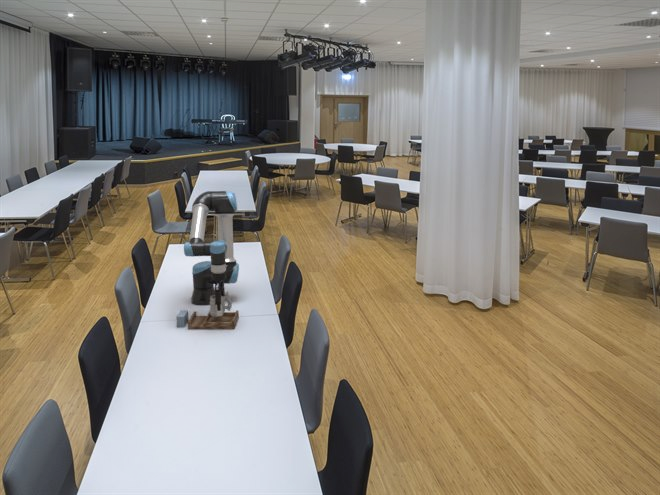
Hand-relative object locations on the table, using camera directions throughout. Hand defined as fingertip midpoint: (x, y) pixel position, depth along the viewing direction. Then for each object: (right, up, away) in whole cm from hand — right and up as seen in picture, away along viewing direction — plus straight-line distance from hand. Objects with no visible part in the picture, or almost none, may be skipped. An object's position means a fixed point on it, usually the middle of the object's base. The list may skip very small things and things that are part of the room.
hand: (221, 313), depth 289 cm
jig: (-4, -6, +2) cm, 7 cm away
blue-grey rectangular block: (-21, -6, +1) cm, 21 cm away
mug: (0, -1, +1) cm, 1 cm away
